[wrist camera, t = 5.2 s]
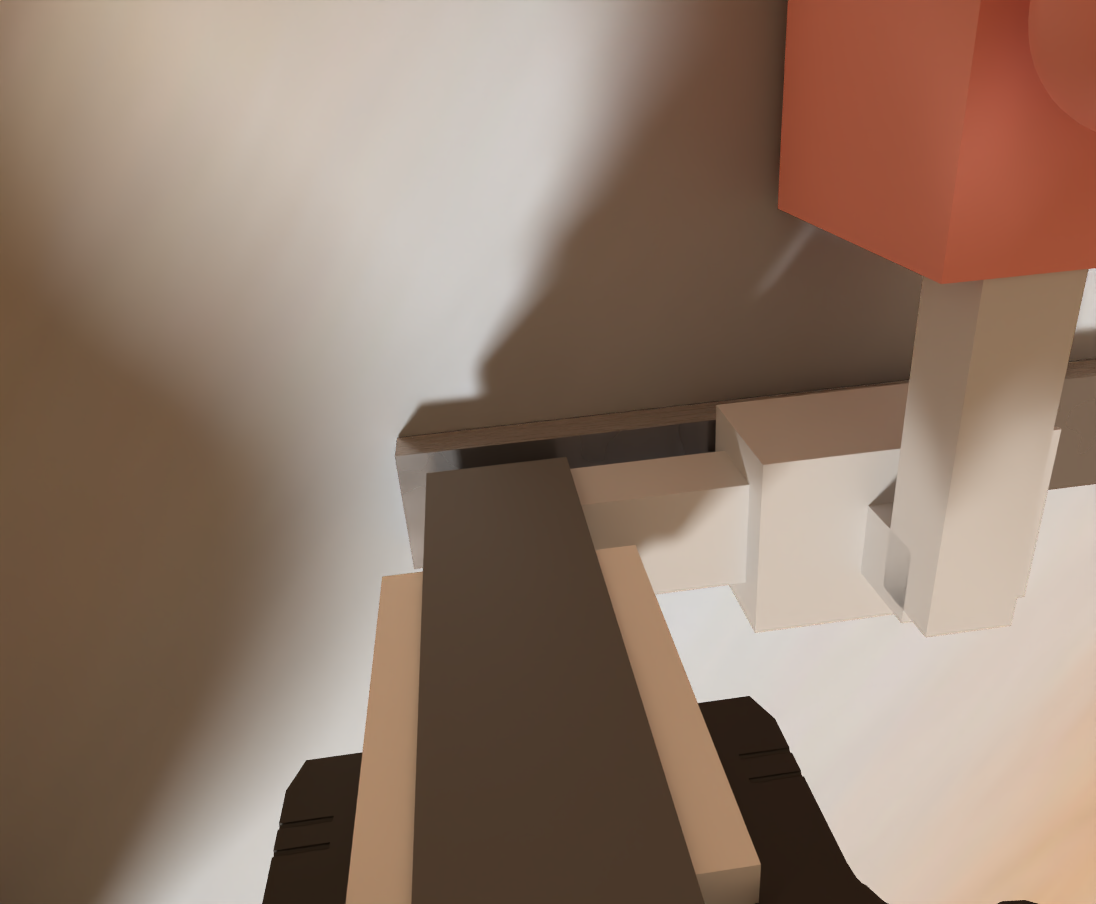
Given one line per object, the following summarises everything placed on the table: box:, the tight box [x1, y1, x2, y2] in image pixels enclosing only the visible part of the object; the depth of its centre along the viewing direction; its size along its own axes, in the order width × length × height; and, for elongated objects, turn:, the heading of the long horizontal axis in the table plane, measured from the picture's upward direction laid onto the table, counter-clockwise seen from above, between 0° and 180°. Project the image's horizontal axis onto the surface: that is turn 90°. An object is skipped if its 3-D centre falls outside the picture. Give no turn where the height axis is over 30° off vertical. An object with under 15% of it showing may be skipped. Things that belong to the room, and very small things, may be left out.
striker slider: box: [411, 0, 1096, 904], centre depth 12 cm, size 12×15×14 cm
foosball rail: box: [395, 359, 1096, 569], centre depth 21 cm, size 30×3×1 cm, turn 94°
